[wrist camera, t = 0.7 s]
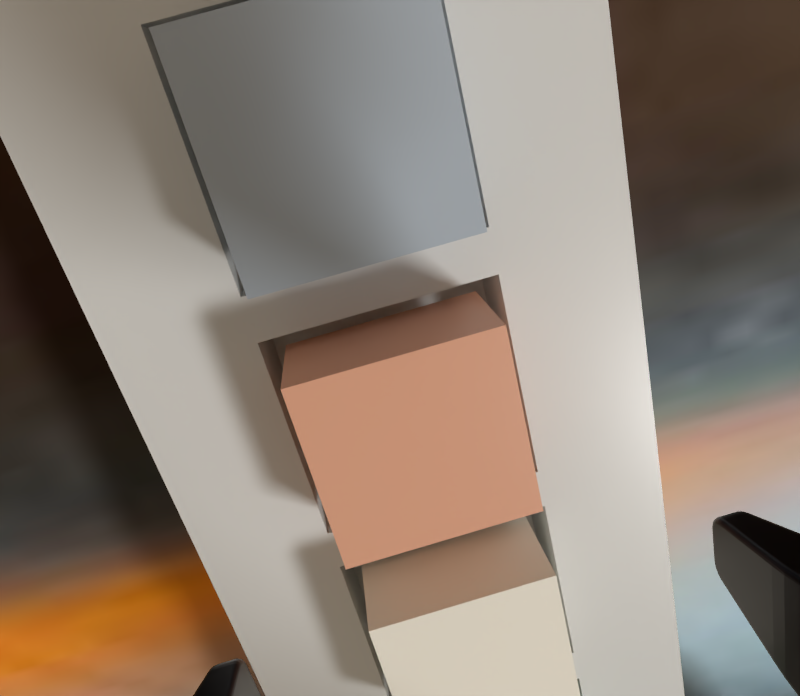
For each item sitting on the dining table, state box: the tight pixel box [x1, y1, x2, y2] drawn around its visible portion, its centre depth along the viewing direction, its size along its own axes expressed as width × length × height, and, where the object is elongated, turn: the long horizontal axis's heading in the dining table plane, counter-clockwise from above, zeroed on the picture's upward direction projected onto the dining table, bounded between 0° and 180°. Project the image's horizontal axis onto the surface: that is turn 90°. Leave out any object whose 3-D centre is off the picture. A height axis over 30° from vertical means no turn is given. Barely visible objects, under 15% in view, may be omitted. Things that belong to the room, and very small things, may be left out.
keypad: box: [0, 0, 685, 696], centre depth 18 cm, size 27×12×5 cm, turn 14°
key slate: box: [149, 0, 487, 299], centre depth 12 cm, size 5×5×2 cm
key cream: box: [362, 517, 580, 696], centre depth 17 cm, size 5×5×2 cm
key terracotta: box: [280, 291, 543, 569], centre depth 14 cm, size 5×5×2 cm
